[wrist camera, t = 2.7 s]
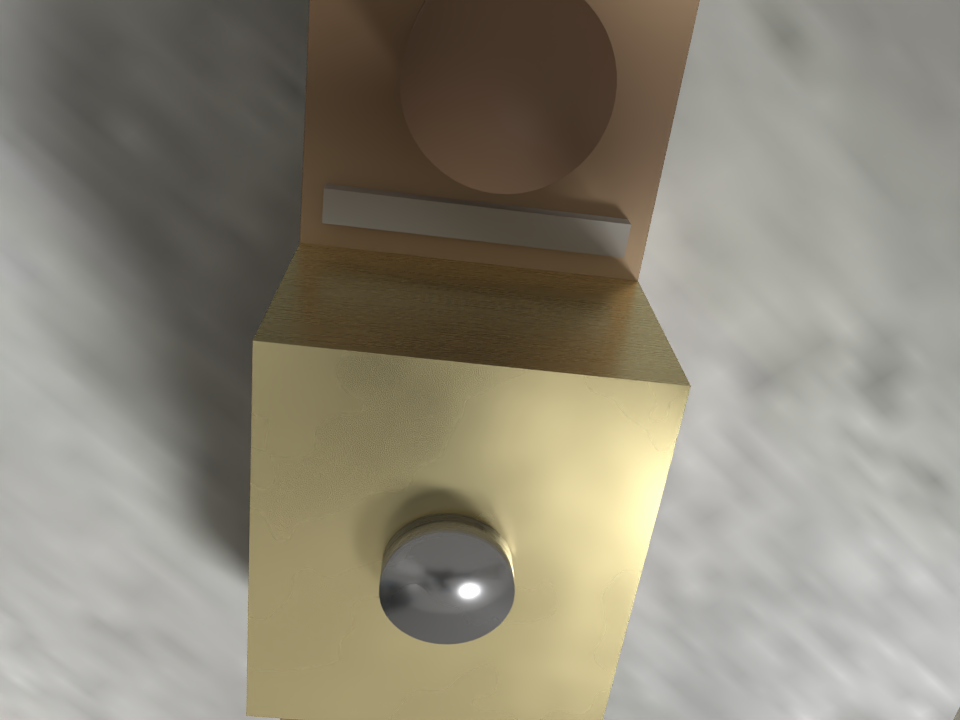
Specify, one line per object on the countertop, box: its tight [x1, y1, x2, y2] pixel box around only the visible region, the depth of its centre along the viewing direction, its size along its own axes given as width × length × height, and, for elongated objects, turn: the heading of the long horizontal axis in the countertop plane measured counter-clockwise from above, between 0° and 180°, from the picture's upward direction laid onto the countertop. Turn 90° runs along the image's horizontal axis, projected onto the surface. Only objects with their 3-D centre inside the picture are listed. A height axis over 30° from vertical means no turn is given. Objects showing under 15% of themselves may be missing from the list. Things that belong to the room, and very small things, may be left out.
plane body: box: [280, 0, 700, 720], centre depth 17 cm, size 18×6×8 cm, turn 173°
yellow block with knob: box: [246, 243, 691, 720], centre depth 15 cm, size 7×6×5 cm
